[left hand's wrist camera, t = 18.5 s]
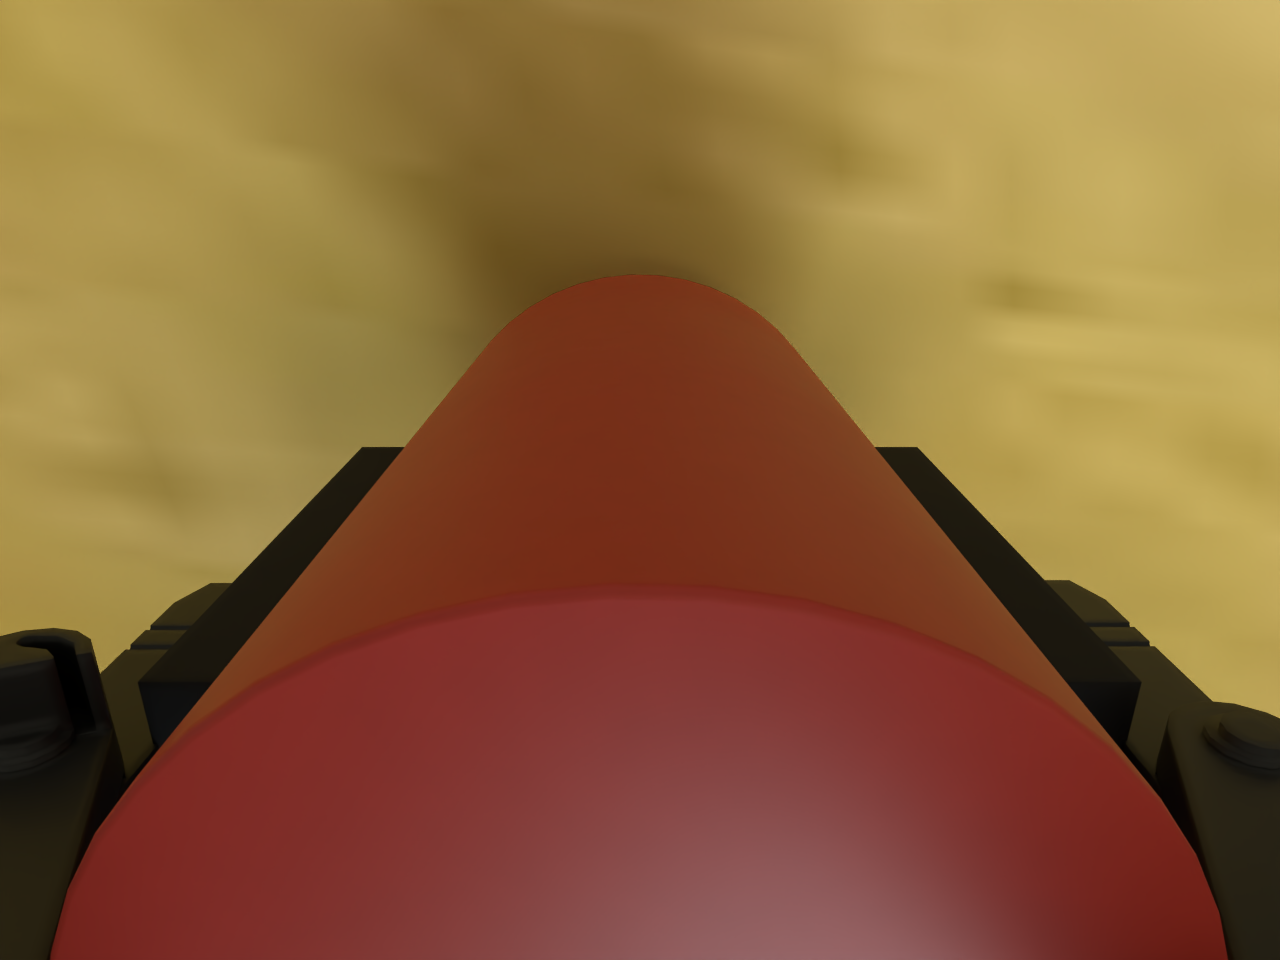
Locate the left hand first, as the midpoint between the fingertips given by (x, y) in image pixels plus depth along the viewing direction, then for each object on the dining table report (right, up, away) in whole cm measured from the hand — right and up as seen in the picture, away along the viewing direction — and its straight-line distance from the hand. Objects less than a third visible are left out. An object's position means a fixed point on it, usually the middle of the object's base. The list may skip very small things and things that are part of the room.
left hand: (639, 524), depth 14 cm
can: (0, +1, +2) cm, 3 cm away
